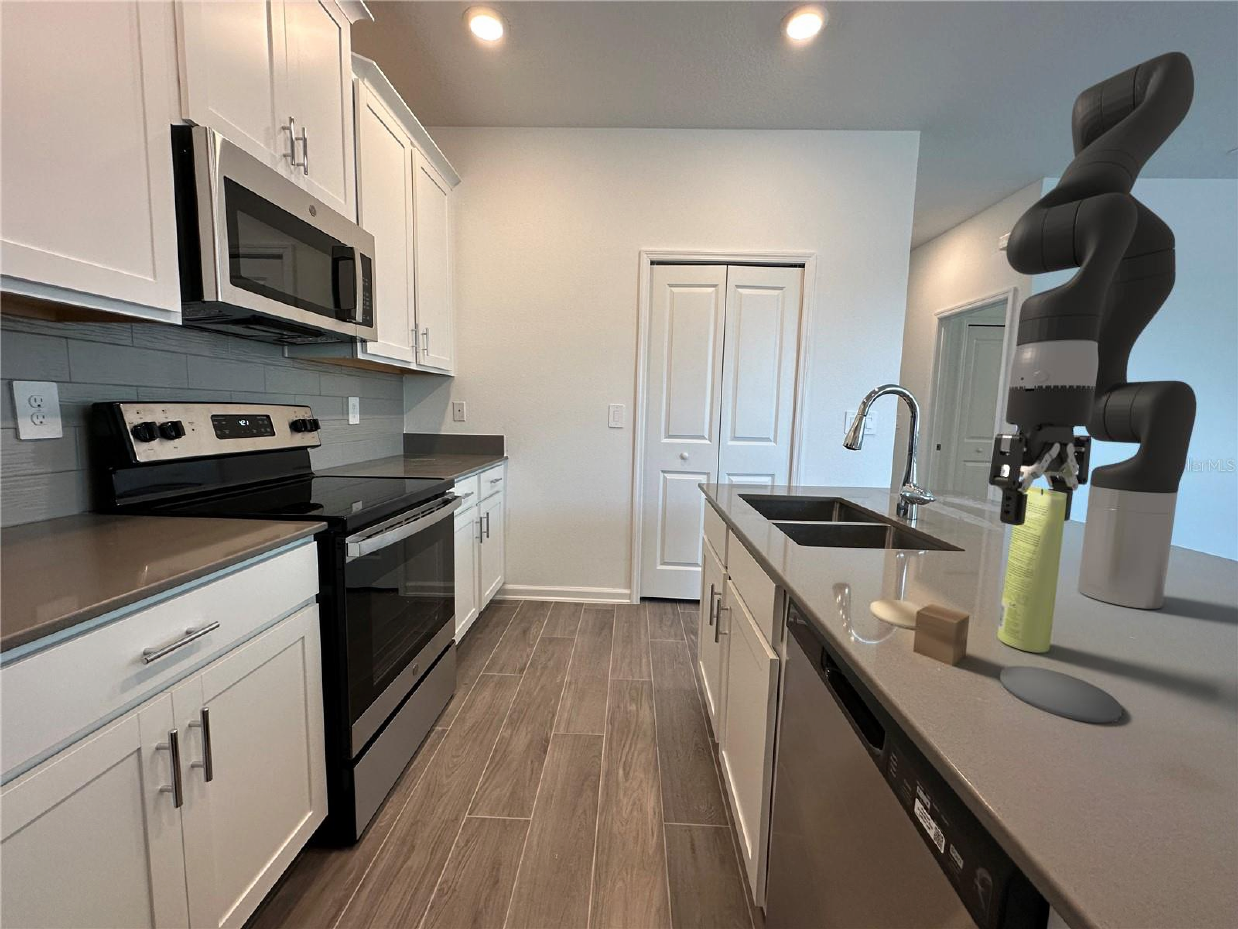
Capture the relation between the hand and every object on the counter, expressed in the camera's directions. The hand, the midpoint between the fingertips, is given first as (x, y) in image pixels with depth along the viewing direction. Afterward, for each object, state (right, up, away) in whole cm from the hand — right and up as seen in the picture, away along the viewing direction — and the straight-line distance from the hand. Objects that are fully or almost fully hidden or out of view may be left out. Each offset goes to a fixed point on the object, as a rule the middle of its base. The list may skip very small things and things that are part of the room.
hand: (1034, 522), depth 58 cm
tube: (0, -15, +2) cm, 16 cm away
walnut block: (-12, -15, -1) cm, 20 cm away
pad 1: (-10, -14, +10) cm, 20 cm away
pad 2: (-6, -16, -9) cm, 19 cm away
